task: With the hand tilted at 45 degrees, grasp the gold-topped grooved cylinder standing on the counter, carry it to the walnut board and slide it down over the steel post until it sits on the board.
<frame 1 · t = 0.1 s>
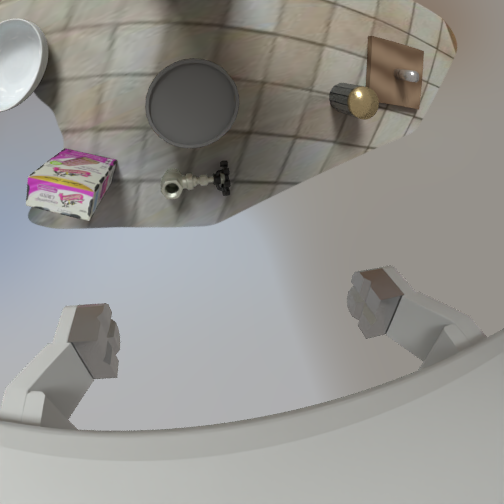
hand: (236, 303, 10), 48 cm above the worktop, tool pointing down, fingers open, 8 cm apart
cereal bowl: (20, 63, 34), on the worktop
candy bar box: (87, 164, 49), on the worktop
gold-topped grooved cylinder: (343, 97, 52), on the worktop
valve: (193, 174, 56), on the worktop
steel post: (393, 73, 51), resting on post board
post board: (393, 73, 51), on the worktop
reusable coffee cup: (189, 96, 47), on the worktop
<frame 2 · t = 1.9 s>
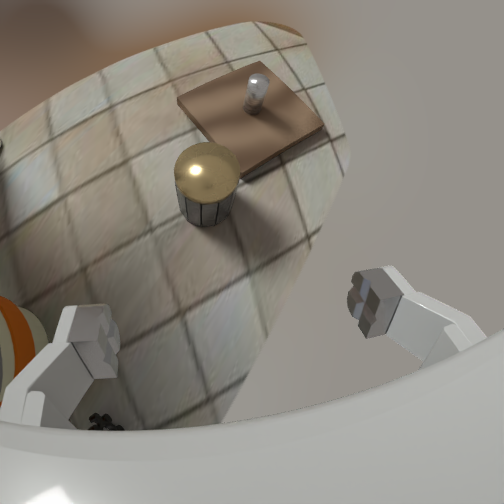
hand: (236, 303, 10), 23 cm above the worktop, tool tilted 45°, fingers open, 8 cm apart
gold-topped grooved cylinder: (205, 201, 35), on the worktop
valve: (90, 448, 27), on the worktop
steel post: (250, 114, 38), resting on post board
post board: (250, 114, 38), on the worktop
reusable coffee cup: (21, 343, 28), on the worktop
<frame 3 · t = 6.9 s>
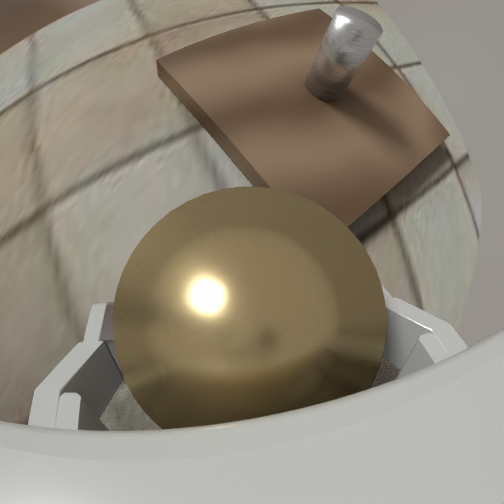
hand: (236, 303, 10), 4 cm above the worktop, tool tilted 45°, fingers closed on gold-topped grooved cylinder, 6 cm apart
gold-topped grooved cylinder: (228, 320, 14), on the worktop, touching gripper
steel post: (315, 101, 17), resting on post board
post board: (315, 101, 17), on the worktop
when the fingers open (7 cm above the worktop, at t = 12.9 s): gold-topped grooved cylinder drops 1 cm, resting on post board.
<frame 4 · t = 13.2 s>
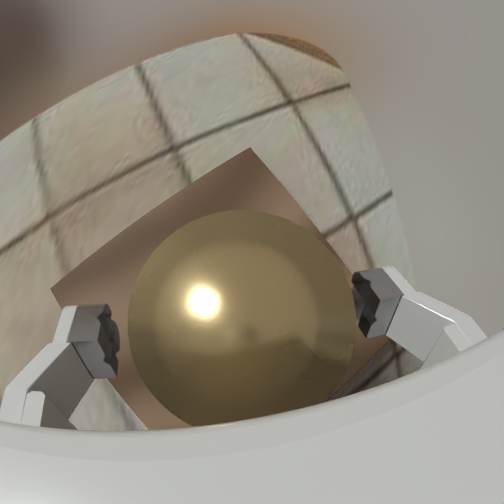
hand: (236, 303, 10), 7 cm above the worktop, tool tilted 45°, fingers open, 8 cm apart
gold-topped grooved cylinder: (225, 320, 15), point 1 cm above the worktop, touching post board
post board: (224, 320, 17), on the worktop
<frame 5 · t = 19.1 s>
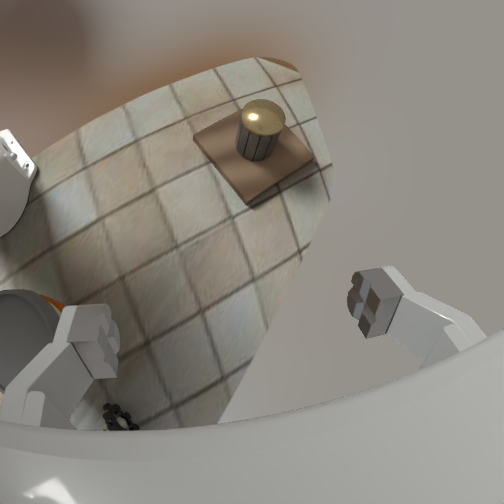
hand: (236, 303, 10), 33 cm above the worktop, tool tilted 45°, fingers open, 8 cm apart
gold-topped grooved cylinder: (254, 144, 47), point 1 cm above the worktop, touching post board
valve: (104, 433, 36), on the worktop
post board: (253, 149, 48), on the worktop
reusable coffee cup: (66, 339, 38), on the worktop
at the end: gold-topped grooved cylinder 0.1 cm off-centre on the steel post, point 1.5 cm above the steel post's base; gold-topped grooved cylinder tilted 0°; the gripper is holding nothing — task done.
